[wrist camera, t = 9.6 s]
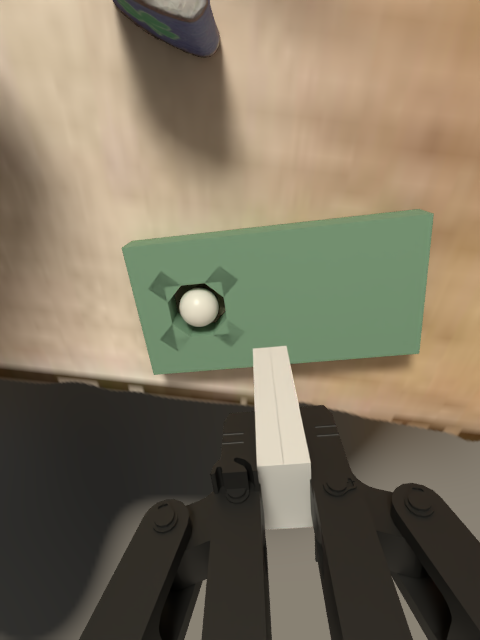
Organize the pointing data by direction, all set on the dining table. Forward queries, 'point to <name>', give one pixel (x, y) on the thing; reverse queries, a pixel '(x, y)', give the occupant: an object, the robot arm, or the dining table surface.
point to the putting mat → (287, 290)
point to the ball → (199, 307)
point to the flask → (176, 23)
